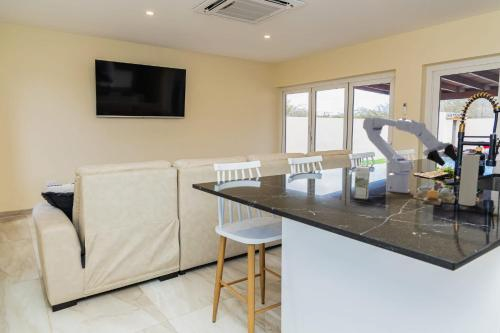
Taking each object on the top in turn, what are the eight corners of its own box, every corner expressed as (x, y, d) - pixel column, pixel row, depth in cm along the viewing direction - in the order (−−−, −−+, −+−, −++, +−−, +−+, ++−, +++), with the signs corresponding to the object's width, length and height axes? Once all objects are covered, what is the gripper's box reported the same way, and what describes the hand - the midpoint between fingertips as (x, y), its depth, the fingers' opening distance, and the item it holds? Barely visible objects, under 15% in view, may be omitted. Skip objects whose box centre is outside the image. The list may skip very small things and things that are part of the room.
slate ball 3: (439, 196, 157) (440, 187, 156) (440, 195, 160) (441, 186, 159) (449, 197, 154) (450, 188, 154) (450, 196, 158) (451, 187, 157)
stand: (422, 203, 147) (423, 198, 147) (424, 200, 153) (425, 195, 152) (439, 205, 144) (440, 200, 144) (441, 202, 149) (441, 197, 149)
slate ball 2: (438, 198, 152) (439, 189, 152) (439, 196, 156) (440, 188, 155) (449, 199, 150) (449, 190, 150) (449, 198, 154) (450, 189, 153)
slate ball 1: (420, 194, 161) (420, 186, 160) (421, 193, 164) (422, 184, 164) (429, 195, 159) (430, 187, 158) (430, 194, 162) (431, 185, 162)
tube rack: (413, 198, 156) (413, 190, 155) (417, 194, 167) (417, 186, 166) (454, 203, 147) (454, 194, 147) (455, 198, 158) (456, 189, 158)
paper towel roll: (469, 206, 141) (474, 155, 139) (455, 203, 147) (459, 153, 144) (479, 205, 145) (484, 154, 142) (465, 202, 150) (469, 153, 147)
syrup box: (368, 197, 158) (370, 166, 156) (367, 199, 153) (368, 167, 151) (355, 196, 160) (357, 165, 159) (353, 198, 155) (355, 166, 153)
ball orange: (426, 199, 147) (427, 189, 147) (427, 197, 151) (428, 188, 150) (437, 200, 145) (437, 191, 145) (438, 198, 149) (438, 189, 148)
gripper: (421, 139, 154) (442, 161, 147) (445, 131, 158) (467, 152, 151) (414, 149, 160) (434, 171, 152) (438, 141, 164) (458, 162, 156)
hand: (450, 162), depth 152 cm, fingers open, 7 cm apart
